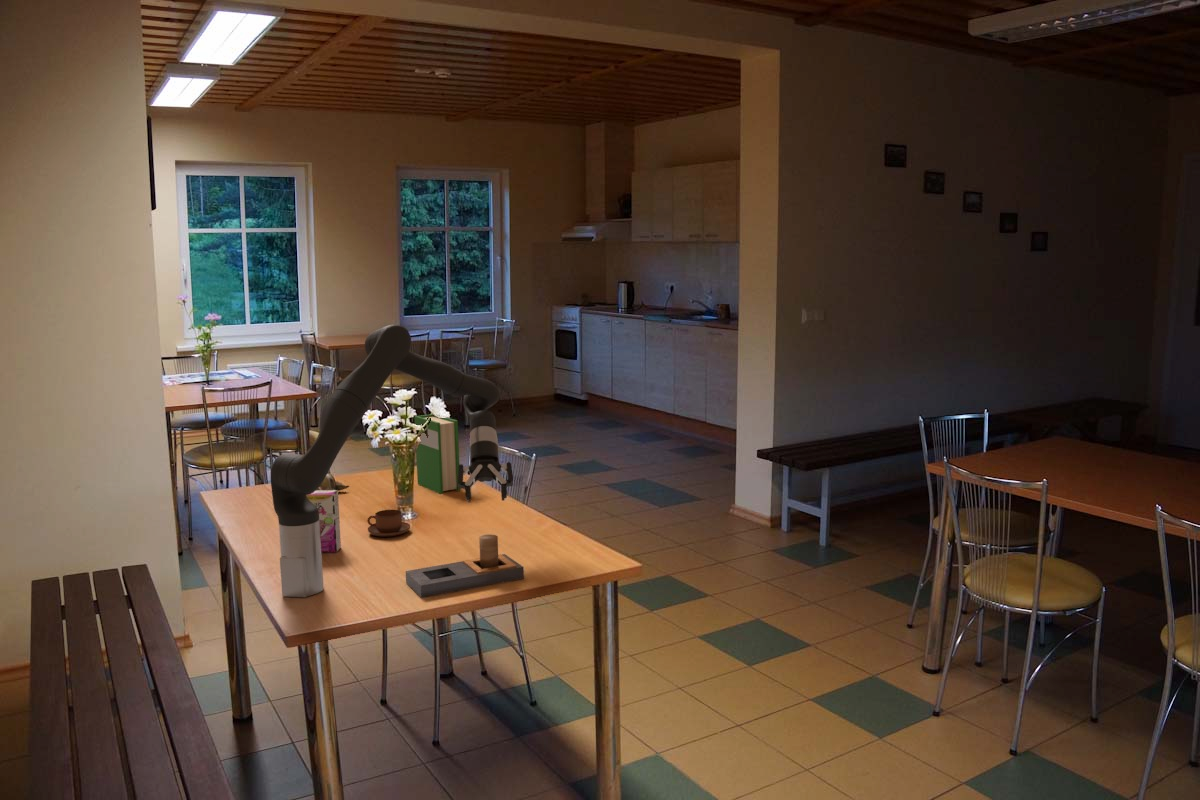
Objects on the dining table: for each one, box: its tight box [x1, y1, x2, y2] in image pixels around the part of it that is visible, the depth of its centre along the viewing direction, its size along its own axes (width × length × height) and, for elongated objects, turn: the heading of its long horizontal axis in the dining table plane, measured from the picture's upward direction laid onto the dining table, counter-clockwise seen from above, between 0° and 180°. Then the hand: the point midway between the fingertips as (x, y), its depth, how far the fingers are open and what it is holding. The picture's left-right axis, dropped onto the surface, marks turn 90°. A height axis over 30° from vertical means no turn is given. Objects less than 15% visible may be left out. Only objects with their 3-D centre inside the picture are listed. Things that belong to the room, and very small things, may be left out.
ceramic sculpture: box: [316, 472, 350, 492], centre depth 326 cm, size 11×9×15 cm
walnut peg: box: [478, 534, 499, 569], centre depth 239 cm, size 4×4×10 cm
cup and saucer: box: [366, 509, 411, 538], centre depth 278 cm, size 12×12×6 cm
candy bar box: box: [306, 490, 342, 554], centre depth 262 cm, size 11×5×16 cm, turn 92°
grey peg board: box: [405, 553, 525, 599], centre depth 236 cm, size 26×12×3 cm, turn 118°
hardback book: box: [414, 413, 461, 495], centre depth 330 cm, size 18×7×24 cm, turn 36°
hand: (486, 499), depth 248 cm, fingers open, 8 cm apart
